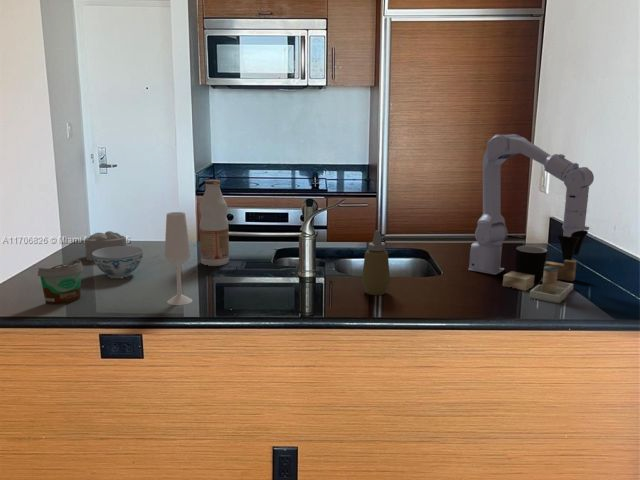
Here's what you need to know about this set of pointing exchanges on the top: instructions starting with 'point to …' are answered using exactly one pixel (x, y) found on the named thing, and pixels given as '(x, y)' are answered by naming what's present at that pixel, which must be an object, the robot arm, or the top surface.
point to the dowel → (549, 280)
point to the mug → (531, 261)
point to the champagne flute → (177, 250)
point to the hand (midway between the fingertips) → (570, 257)
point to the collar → (564, 286)
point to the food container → (62, 283)
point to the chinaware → (118, 260)
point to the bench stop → (564, 269)
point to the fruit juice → (214, 226)
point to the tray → (537, 294)
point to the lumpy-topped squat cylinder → (103, 242)
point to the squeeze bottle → (376, 268)
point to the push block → (518, 280)
